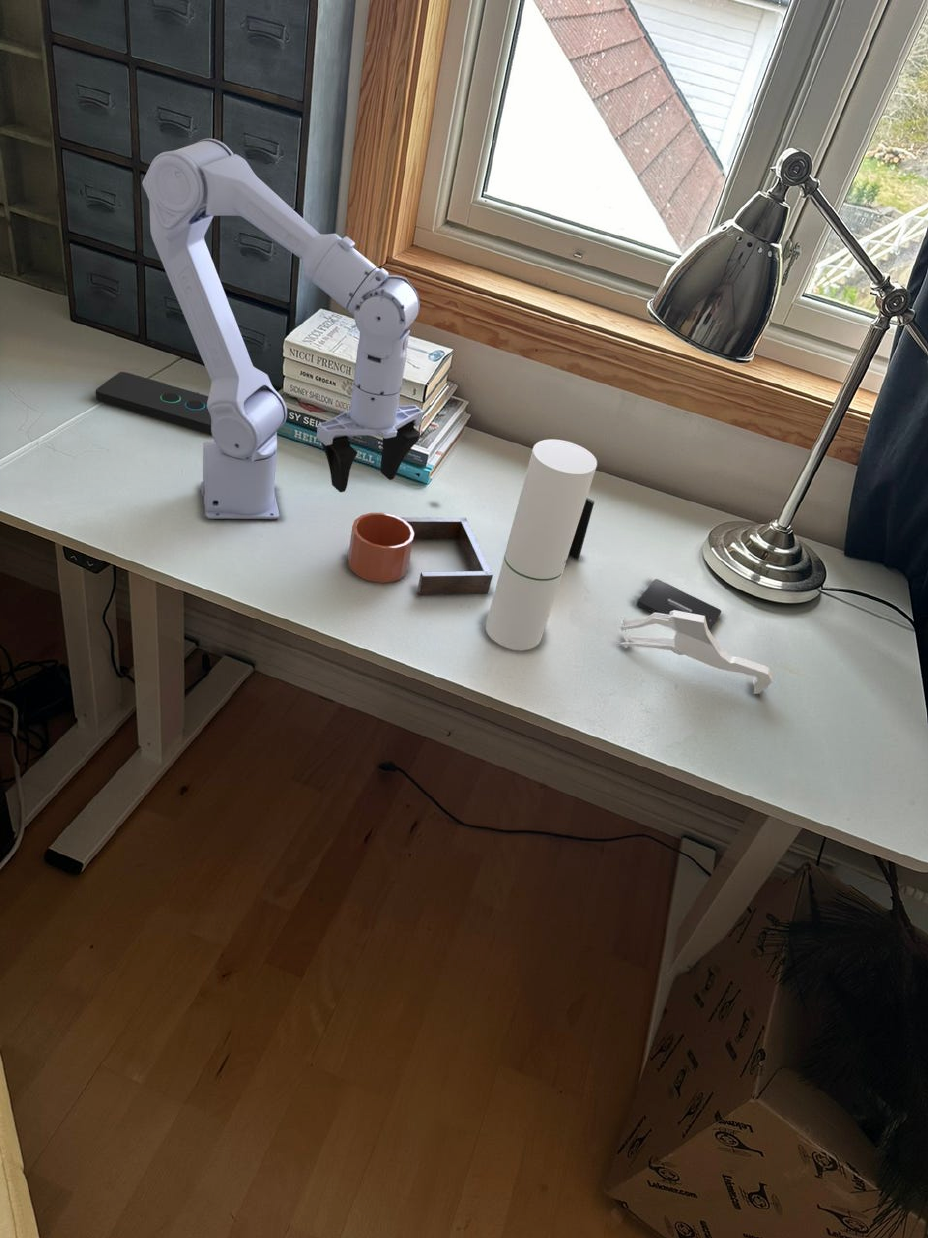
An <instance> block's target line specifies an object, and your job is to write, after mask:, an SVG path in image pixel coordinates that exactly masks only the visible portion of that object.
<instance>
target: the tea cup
mask: <svg viewBox="0 0 928 1238" xmlns="http://www.w3.org/2000/svg"><path fill="white" fill-rule="evenodd" d="M413 539H414V531H413V529H412V527H411V526H410V525H409V524H408V523H407V522H406V521H405V520H403V519H401V517H399V516H397V515H394V514H390V513H386V512H369V513H365V514H361V515H359V516H358V517H357V518H356V519H354V520H353V523H352V525H351V531H350V539H349V547H348V554H347V565H348V568H349V569H350V570H351V571H352V572H353V574H355V575H356V576H357V577H359V578H360V579H363V580H364V581H365V580H366V581H369V582H373V583H379V584H387V583H388V584H389V583H394V582H396V581H400V580H401V579H402V578H404V576H406V574H407V572H408V569H409V564H410V559H411V554H412V551H413V543H414V540H413Z"/></svg>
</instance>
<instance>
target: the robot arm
mask: <svg viewBox="0 0 928 1238" xmlns="http://www.w3.org/2000/svg"><path fill="white" fill-rule="evenodd" d="M142 187H143V189H144V192H145V193H146V197H147V199H148V202H149V226H150V227H149V229H150V230H149V231H150V237H151V240H152V242H153V244H154V246H155V247H154V248H155V250H156V251H157V254H158V256H159V259H160V261H161V264H162V265H163V266H162V267H163V268H164V270H165V273H166V275H167V278H168V280H169V283H170V285H171V287H172V290H173V292H174V295H175V297H176V299H177V302H178V304H179V307H180V309H181V312H182V314H183V316H184V319H185V321H186V323H187V326H188V328H189V331H190V333H191V335H192V338H193V341H194V343H195V345H196V347H197V350H198V353H199V355H200V357H201V360H202V362H203V364H204V367H205V370H206V372H207V374H208V377H209V379H210V383H211V384H210V388H209V393H208V396H209V397H208V401H207V408H208V411H209V413H210V416H211V432H212V439H213V440H212V441H205V442H203V448H202V453H203V455H202V481H200V492H201V496H203V504H204V513H205V518H207V519H209V520H211V519H212V520H213V519H214V520H218V519H219V520H224V519H225V520H237V519H238V520H278V519H279V518H280V513H279V508H278V502H277V498H276V494H275V486H276V485H275V484H276V469H277V467H276V466H277V456H278V439H277V436H278V430H279V429H281V428H282V427H283V426H284V425H285V424H286V421H287V418H288V408H287V405H286V402H285V400H284V398H283V397H282V396H281V395H280V394H279V392H278V391H277V390H276V389H275V388H274V386H273V385H272V382H271V380H270V378H269V375H268V374H267V373H265V372H263V371H262V370H260V369H258V368H257V367H255V366H254V364H253V362H252V359H251V357H250V354H249V352H248V349H247V346H246V344H245V341H244V339H243V337H242V333H241V331H240V329H239V325H238V323H237V320H236V318H235V316H234V313H233V311H232V308H231V306H230V303H229V299H228V297H227V294H226V292H225V290H224V287H223V284H222V282H221V280H220V277H219V274H218V272H217V269H216V267H215V264H214V261H213V259H212V257H211V254H210V251H209V248H208V246H207V243H206V240H205V235H206V234H207V231H208V229H209V226H210V224H211V223H212V220H213V218H214V217H215V216H216V217H219V216H222V217H223V216H225V217H227V216H229V217H231V216H235V217H236V216H237V217H242V218H243V219H245V220H246V221H247V222H249V223H250V224H252V225H253V226H254V227H256V228H257V229H258V230H260V231H261V232H262V233H264V234H265V235H267V236H268V237H269V238H271V239H272V240H273V241H274V242H276V243H278V244H279V245H281V246H282V247H284V248H285V249H286V250H288V251H289V252H290V253H292V254H293V255H294V256H295V257H296V258H297V257H298V259H300V260H301V263H302V266H303V270H304V274H305V277H306V278H307V279H308V280H309V281H311V282H312V283H313V284H314V285H315V286H317V287H318V288H319V289H320V290H322V291H323V292H324V293H325V294H326V295H328V296H329V297H330V298H331V299H332V300H334V301H335V302H336V303H337V304H339V305H340V306H341V307H342V308H344V309H345V310H347V312H349V313H350V314H351V315H353V319H354V320H353V321H354V323H355V326H356V328H357V330H358V332H359V338H358V344H357V350H356V357H355V364H354V365H355V366H354V374H353V381H352V388H351V397H350V405H349V409H347V410H346V411H344V412H342V413H340V414H338V415H337V416H335V417H333V418H331V419H329V420H327V421H323V422H320V423H317V428H316V429H317V432H316V439H317V440H318V441H319V442H320V444H321V446H322V449H323V452H324V454H325V456H326V459H327V464H328V469H329V472H330V481H331V486H333V487H334V488H335V489H336V490H337V491H338V492H339V493H345V492H346V490H347V488H348V484H349V477H350V472H351V468H352V465H353V463H354V460H355V458H356V456H357V455H358V453H359V452H358V451H357V450H356V449H355V448H354V447H352V446H351V441H349V439H350V438H353V437H357V436H380V438H381V439H382V450H381V457H380V458H381V459H380V473H381V474H382V475H383V476H384V477H386V479H388V481H391V480H394V479H395V477H396V475H397V473H398V470H399V468H400V467H401V465H402V463H403V461H404V459H405V458H406V456H407V454H408V453H409V452H410V451H411V449H412V448H413V446H415V444H417V442H418V441H419V440H420V436H421V435H420V434H421V433H420V431H419V430H417V429H416V428H415V427H418V426H422V424H423V423H422V422H423V417H424V411H423V410H422V409H421V408H419V407H418V406H417V405H416V404H411V405H410V404H409V405H400V404H399V403H400V397H401V391H402V385H403V379H404V373H405V366H406V361H407V355H408V343H409V338H410V337H409V336H410V333H411V331H410V329H409V327H410V326H411V325H412V324H413V323H414V322H415V320H416V318H417V317H418V315H419V313H420V309H421V304H420V303H421V302H420V301H421V300H420V298H419V297H420V296H419V295H418V291H417V290H416V289H415V287H414V286H413V285H412V284H411V283H410V282H409V280H408V279H407V278H406V277H404V276H403V275H397V274H389V272H388V270H386V269H384V268H383V267H381V268H379V267H378V266H377V265H375V264H374V263H373V262H371V261H370V260H369V259H368V258H367V257H365V256H364V255H363V254H361V253H360V252H359V251H358V250H357V249H356V248H354V247H355V245H356V243H355V241H353V239H351V238H350V237H349V236H348V235H346V236H344V237H341V236H339V234H337V233H328V234H323V233H322V234H321V233H319V232H318V231H317V230H316V229H315V228H314V227H313V226H312V225H311V224H309V223H308V222H307V220H305V219H304V218H303V217H302V216H301V215H299V213H298V212H296V210H294V209H293V208H292V207H291V206H290V205H289V204H287V202H286V201H284V200H283V199H282V198H281V197H280V196H279V195H278V194H277V193H276V192H274V191H273V190H272V189H271V188H270V187H269V185H267V184H266V183H265V182H264V181H263V180H262V179H260V178H259V177H258V176H257V175H256V174H255V172H254V171H253V169H252V168H251V166H250V164H249V163H248V162H247V160H246V159H245V158H243V157H242V156H240V155H239V154H237V153H235V154H234V152H233V151H232V150H231V149H230V148H229V146H227V145H226V144H225V143H224V142H222V141H220V140H218V139H215V138H202V139H200V140H199V141H197V142H195V143H193V144H189V145H186V146H184V147H181V148H178V149H174V150H169V151H163V152H161V153H159V154H158V155H156V156H155V157H154V158H153V160H152V161H151V163H150V165H149V167H148V169H147V171H146V173H145V176H144V178H143V180H142Z"/></svg>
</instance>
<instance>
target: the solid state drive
mask: <svg viewBox="0 0 928 1238" xmlns="http://www.w3.org/2000/svg"><path fill="white" fill-rule="evenodd" d="M636 605H637V606H639V607H640V608H642V609H644V610H646V611H648V612H650V613H652V614H653V613H661V614H667V615H670V612H671V611H673V610H676V611H681V612H687V613H692V614H697V615H702V616H705V619H706V623H707V626H708V629H709V631H711V629H712V627H713V626H714V624H715V623H716V621H717V620H718V618H719V617H720V616H721V613H722V610H721V609H720V608H718V607H716V606H714V605H711V604H710V603H708V602H705V601H703V600H702V599H699V598H697V597H696V596H693V595H691V594H690V593H688V592H685V591H683V590H681V589H678V588H677V587H675V586H673V585H671V584H669V583H667V582H665V581H663V580H660V579H658V578H655V579H654V580H653V581H652V582H651V584H650V585H649V586H648V587H647V588H646V589H645V591H644V592H643V593H642V595H641V596H639V598H638V599H637V601H636Z"/></svg>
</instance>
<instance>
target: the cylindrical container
mask: <svg viewBox="0 0 928 1238" xmlns="http://www.w3.org/2000/svg"><path fill="white" fill-rule="evenodd" d="M597 467H598V460H597V458H596V456H595V455H594V454H593V453H592V452H590V451H589V450H588V449H586V448H585V447H583V446H581V445H579V444H577V443H574V442H571V441H567V440H562V439H553V438H551V439H544V440H540V441H538V442H536V443H535V444H534V445H533V447H532V450H531V454H530V458H529V461H528V465H527V469H526V473H525V477H524V480H523V484H522V488H521V491H520V495H519V499H518V503H517V507H516V510H515V514H514V518H513V522H512V525H511V528H510V533H509V537H508V540H507V544H506V548H505V552H504V554H503V558H502V562H501V566H500V570H499V574H498V577H497V581H496V586H495V589H494V593H493V596H492V599H491V604H490V608H489V611H488V615H487V618H486V619H487V620H486V622H485V630H486V633H487V636H489V638H490V639H491V640H492V641H494V642H495V643H496V644H498V645H499V646H500V647H503V648H506V649H508V650H514V651H528V650H532V649H535V648H536V647H537V646H539V644H540V643H541V641H542V638H543V635H544V632H545V629H546V626H547V622H548V620H549V616H550V613H551V610H552V607H553V604H554V601H555V598H556V595H557V591H558V588H559V586H560V583H561V579H562V577H563V573H564V570H565V566H566V564H567V560H568V557H569V555H568V554H569V551H570V548H571V545H572V542H573V539H574V536H575V533H576V529H577V526H578V523H579V520H580V517H581V514H582V511H583V508H584V504H585V501H586V498H588V495H589V492H590V489H591V486H592V483H593V479H594V476H595V472H596V471H597Z"/></svg>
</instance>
